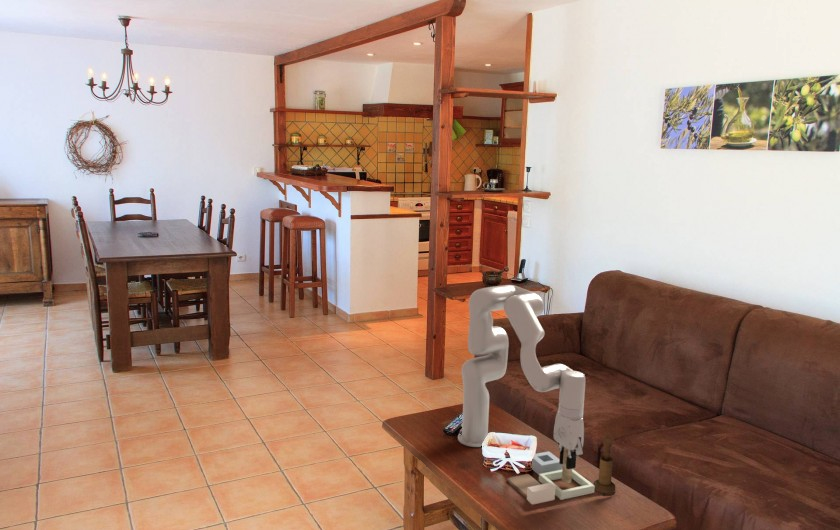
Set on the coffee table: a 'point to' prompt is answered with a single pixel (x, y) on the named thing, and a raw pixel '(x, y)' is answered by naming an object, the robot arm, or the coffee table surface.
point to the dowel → (566, 472)
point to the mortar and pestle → (605, 471)
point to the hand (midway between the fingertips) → (567, 465)
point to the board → (523, 483)
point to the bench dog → (541, 493)
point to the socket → (545, 463)
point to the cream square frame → (572, 492)
